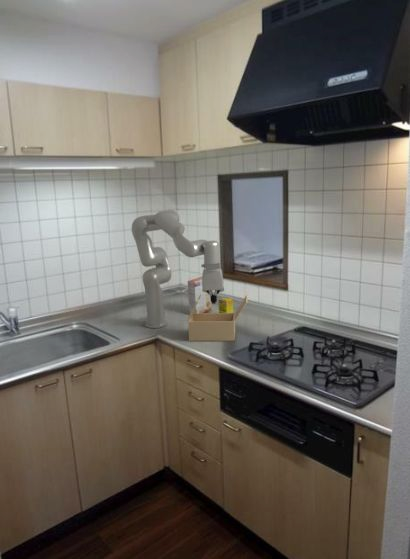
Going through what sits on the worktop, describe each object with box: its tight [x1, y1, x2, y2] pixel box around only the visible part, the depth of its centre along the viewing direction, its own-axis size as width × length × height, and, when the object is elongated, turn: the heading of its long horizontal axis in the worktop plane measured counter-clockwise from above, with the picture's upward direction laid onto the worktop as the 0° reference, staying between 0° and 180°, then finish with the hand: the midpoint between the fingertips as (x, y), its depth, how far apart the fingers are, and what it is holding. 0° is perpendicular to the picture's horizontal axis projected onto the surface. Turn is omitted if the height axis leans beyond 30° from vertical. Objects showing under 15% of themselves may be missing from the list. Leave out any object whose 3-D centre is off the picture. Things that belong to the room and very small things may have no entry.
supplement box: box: [218, 297, 234, 313], centre depth 242 cm, size 6×6×11 cm
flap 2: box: [234, 294, 248, 322], centre depth 208 cm, size 11×14×1 cm
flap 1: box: [186, 295, 201, 322], centre depth 211 cm, size 11×14×1 cm
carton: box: [187, 312, 236, 343], centre depth 212 cm, size 22×14×10 cm, turn 84°
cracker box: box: [187, 276, 212, 315], centre depth 252 cm, size 14×6×21 cm, turn 141°
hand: (213, 303), depth 209 cm, fingers closed
